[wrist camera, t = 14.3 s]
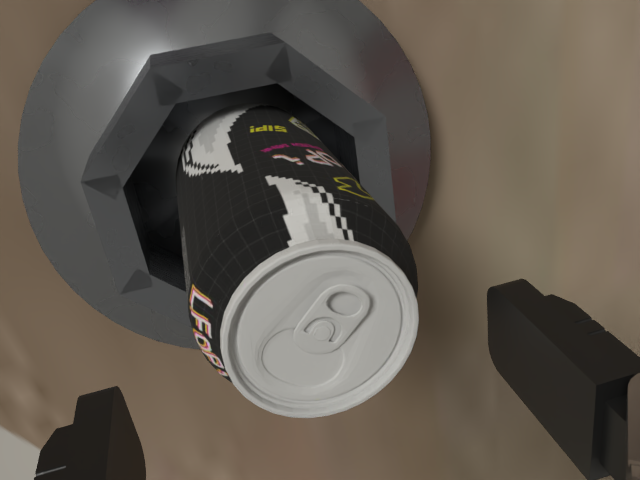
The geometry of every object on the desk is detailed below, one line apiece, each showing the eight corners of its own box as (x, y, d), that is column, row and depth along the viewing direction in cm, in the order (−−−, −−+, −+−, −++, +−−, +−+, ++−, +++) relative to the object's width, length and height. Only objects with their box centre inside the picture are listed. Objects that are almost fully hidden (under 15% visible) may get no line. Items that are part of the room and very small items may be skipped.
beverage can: (346, 141, 25) (492, 280, 14) (276, 258, 26) (361, 465, 15) (218, 69, 22) (276, 171, 12) (149, 202, 24) (144, 401, 13)
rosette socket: (400, -78, 23) (452, -85, 19) (428, 284, 30) (470, 333, 26) (-46, -4, 21) (-93, 5, 17) (99, 370, 28) (90, 439, 24)
